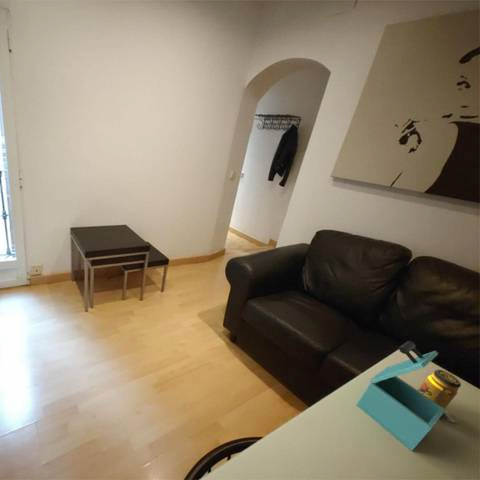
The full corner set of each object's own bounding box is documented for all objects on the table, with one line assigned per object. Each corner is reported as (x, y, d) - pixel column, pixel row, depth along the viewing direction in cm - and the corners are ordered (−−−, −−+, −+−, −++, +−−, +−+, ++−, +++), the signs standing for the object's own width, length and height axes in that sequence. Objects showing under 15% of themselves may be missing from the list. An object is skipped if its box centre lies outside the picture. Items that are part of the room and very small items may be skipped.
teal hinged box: (426, 431, 69) (445, 409, 66) (411, 451, 64) (431, 428, 60) (373, 390, 79) (387, 369, 75) (356, 405, 73) (370, 383, 70)
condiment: (404, 392, 80) (425, 364, 75) (433, 399, 79) (456, 370, 75) (423, 416, 73) (447, 386, 69) (455, 423, 73) (482, 393, 68)
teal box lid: (438, 353, 66) (420, 334, 69) (424, 367, 61) (405, 346, 63) (389, 370, 75) (374, 352, 78) (372, 383, 70) (357, 364, 72)
